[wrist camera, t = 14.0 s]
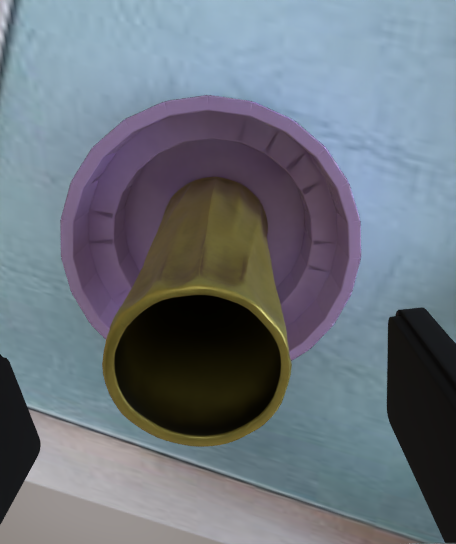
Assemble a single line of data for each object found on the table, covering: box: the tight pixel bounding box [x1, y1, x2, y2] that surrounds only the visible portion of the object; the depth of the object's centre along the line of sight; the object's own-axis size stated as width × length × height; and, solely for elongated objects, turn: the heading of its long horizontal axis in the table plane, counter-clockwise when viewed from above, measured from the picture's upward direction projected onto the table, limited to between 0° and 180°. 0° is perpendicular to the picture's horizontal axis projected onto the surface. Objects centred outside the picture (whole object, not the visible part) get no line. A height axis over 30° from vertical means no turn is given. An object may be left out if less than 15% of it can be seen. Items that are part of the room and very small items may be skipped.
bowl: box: [60, 95, 361, 361], centre depth 23 cm, size 14×14×6 cm
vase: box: [102, 177, 292, 446], centre depth 18 cm, size 6×6×14 cm
